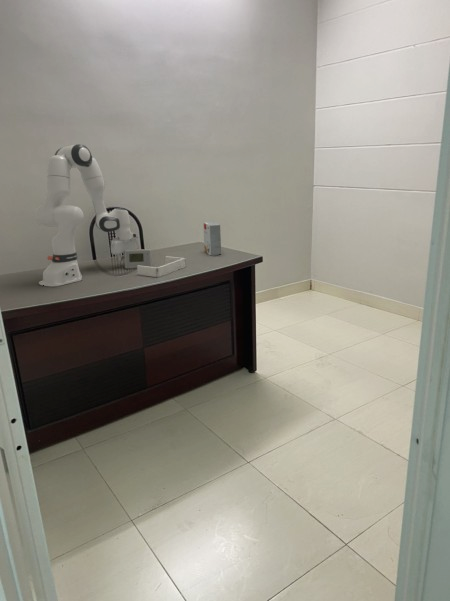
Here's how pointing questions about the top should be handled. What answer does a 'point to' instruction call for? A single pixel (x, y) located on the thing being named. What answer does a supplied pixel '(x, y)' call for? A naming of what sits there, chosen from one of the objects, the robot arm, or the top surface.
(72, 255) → the robot arm
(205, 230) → the hard drive box
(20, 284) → the top surface
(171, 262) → the bin
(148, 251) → the digital clock
